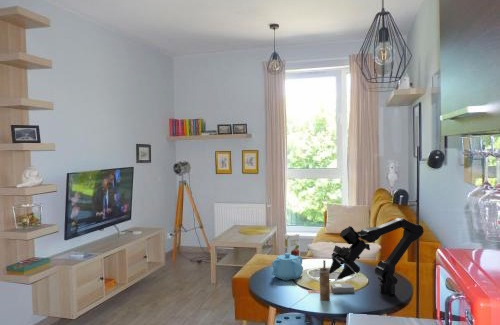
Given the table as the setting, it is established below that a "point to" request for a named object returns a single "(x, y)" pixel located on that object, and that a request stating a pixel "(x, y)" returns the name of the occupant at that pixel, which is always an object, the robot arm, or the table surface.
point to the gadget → (331, 276)
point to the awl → (324, 283)
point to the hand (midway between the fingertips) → (333, 275)
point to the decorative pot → (287, 267)
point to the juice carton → (292, 244)
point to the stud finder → (342, 288)
